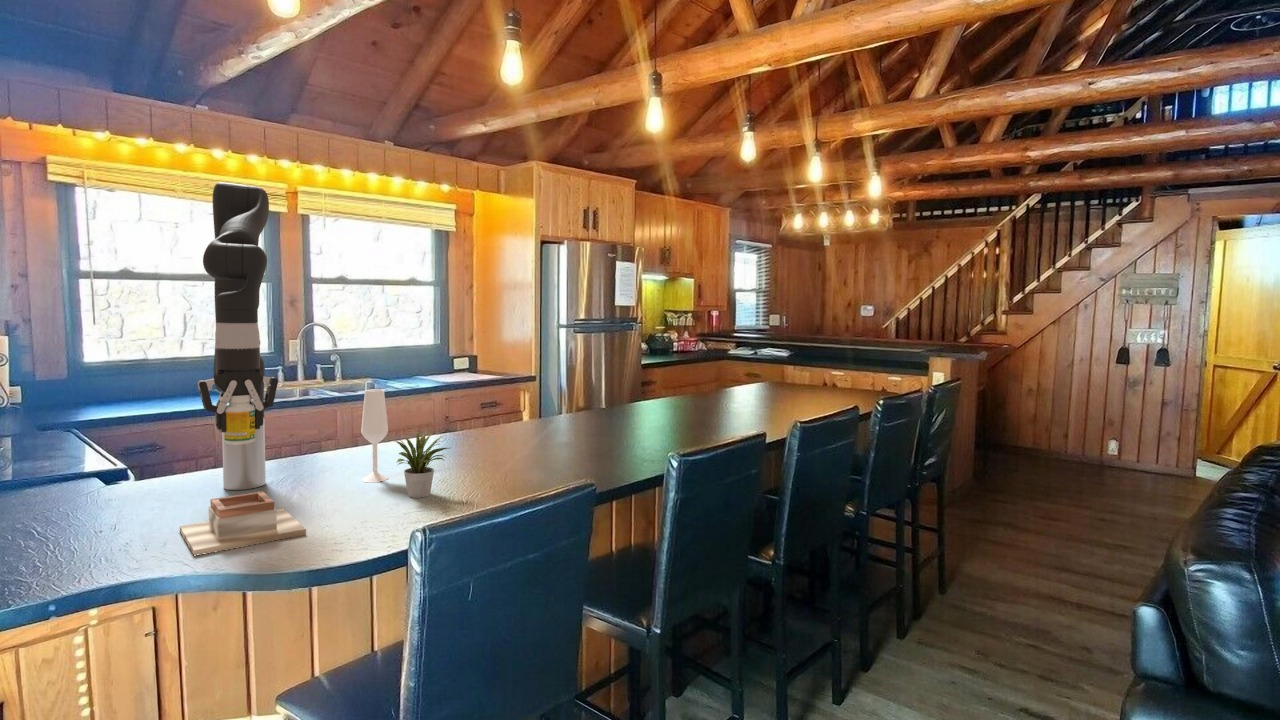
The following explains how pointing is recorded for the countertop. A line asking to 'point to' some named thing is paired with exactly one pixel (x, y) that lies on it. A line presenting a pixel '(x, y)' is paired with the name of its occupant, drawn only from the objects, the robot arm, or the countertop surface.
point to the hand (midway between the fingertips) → (239, 429)
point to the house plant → (419, 466)
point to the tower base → (213, 544)
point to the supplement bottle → (240, 420)
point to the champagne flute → (374, 426)
